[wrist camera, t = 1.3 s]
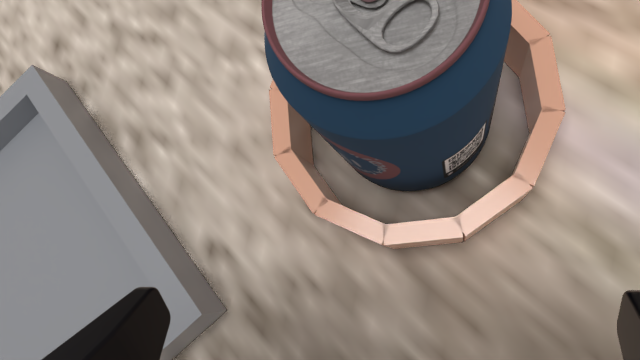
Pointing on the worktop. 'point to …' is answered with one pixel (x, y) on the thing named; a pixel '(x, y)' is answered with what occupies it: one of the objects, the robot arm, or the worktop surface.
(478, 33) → the soda can
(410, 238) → the ring holder
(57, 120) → the tray
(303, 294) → the worktop surface
